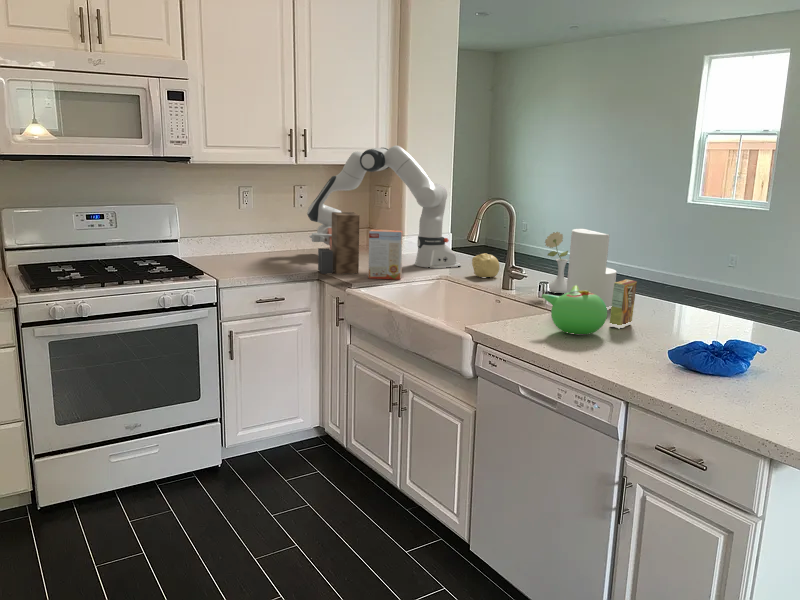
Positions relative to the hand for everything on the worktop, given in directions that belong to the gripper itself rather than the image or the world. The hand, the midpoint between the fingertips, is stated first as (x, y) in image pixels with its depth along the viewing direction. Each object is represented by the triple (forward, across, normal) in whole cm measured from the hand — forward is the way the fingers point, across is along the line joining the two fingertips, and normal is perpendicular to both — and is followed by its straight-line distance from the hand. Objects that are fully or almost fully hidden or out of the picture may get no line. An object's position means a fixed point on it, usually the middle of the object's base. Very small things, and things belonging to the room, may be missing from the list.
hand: (334, 239), depth 325 cm
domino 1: (+20, -9, +11) cm, 25 cm away
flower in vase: (+80, +76, +11) cm, 111 cm away
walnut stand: (+23, 0, +11) cm, 26 cm away
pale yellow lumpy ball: (+44, +60, +11) cm, 75 cm away
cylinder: (+102, +77, +11) cm, 128 cm away
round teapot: (+136, +51, +11) cm, 146 cm away
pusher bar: (-4, 0, +4) cm, 6 cm away
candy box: (+131, +71, +11) cm, 150 cm away
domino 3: (+27, -9, +11) cm, 31 cm away
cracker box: (+41, +14, +11) cm, 45 cm away
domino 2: (+24, -9, +11) cm, 28 cm away
